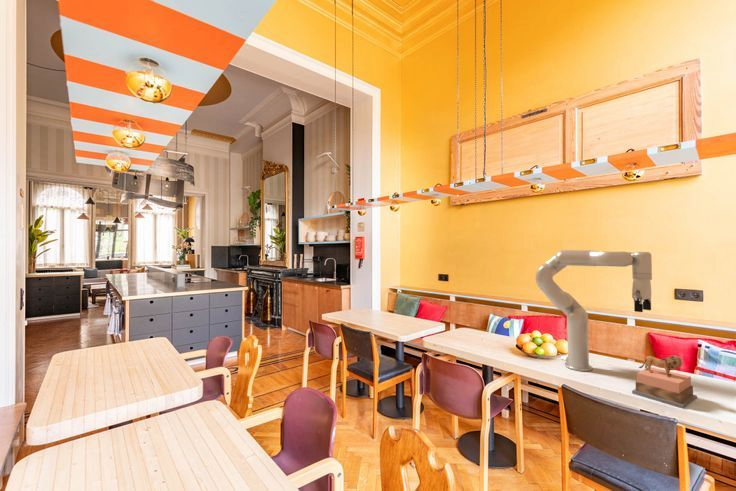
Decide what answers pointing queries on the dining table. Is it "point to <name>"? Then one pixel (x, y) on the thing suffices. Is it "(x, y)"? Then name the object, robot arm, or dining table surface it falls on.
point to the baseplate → (667, 400)
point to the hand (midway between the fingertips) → (642, 310)
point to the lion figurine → (663, 363)
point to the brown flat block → (665, 393)
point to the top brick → (664, 380)
